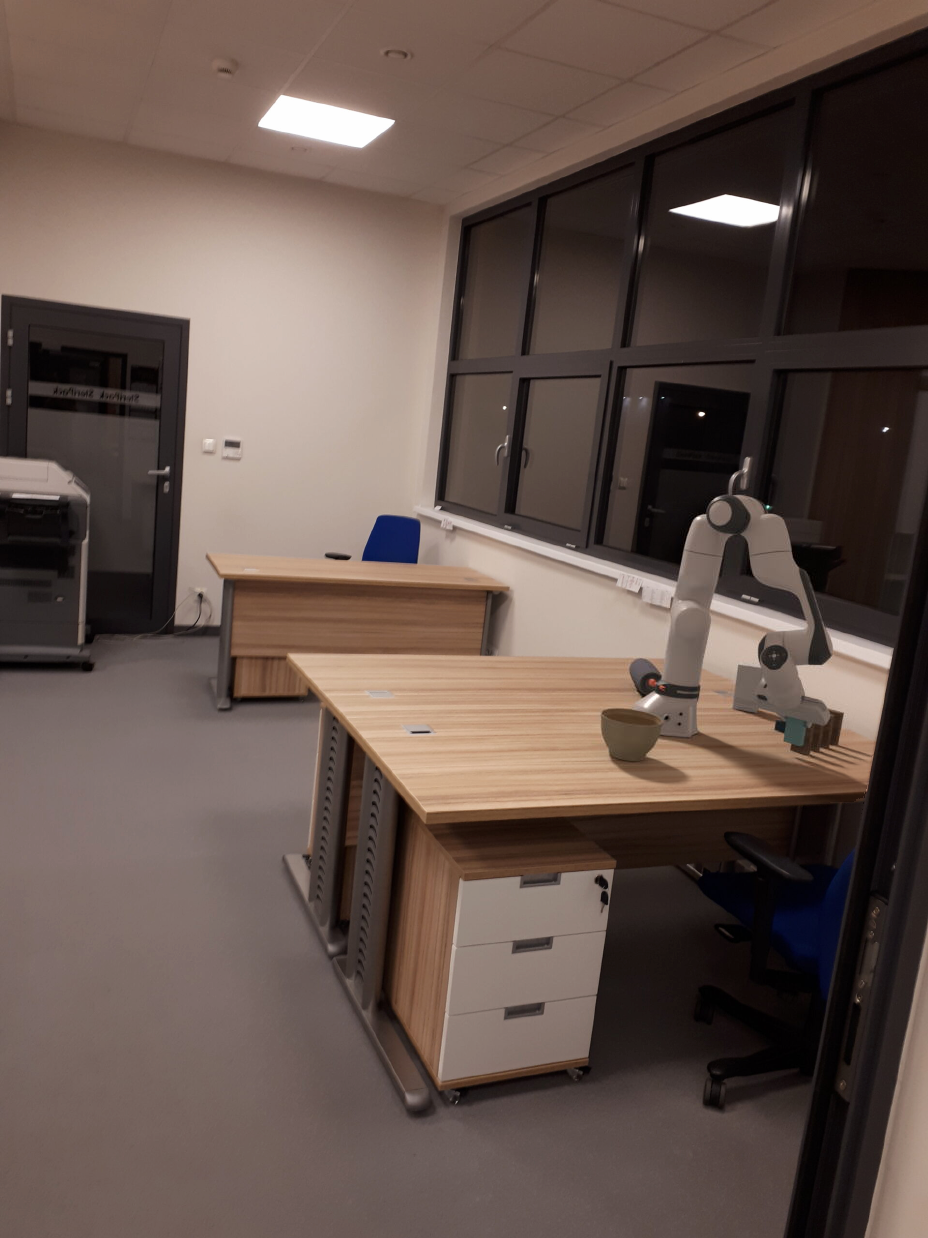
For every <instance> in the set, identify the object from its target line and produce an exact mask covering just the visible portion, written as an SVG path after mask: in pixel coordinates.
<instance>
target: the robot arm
mask: <svg viewBox="0 0 928 1238" xmlns="http://www.w3.org/2000/svg"><path fill="white" fill-rule="evenodd" d="M705 512H706V513H705V514H704V513H703V514H701V515H697V516H696V517H695V518H694V519H693V520H692V522H691V525H690V527H689V530H688V533H687V536H686V540H685V543H684V547H683V552H682V558H681V562H680V568H679V574H678V577H677V578H678V579H677V581H676V582H677V583H676V587H675V590H674V594H673V599H672V603H671V608H670V612H669V613H670V614H669V616H670V617H669V618H670V625H669V632H668V637H667V643H666V649H665V653H664V654H665V655H664V659H663V660H664V661H663V667H662V673H661V675H662V678H661V679H660V680H659V681H658V682H657V681H655V680H654V679H650V682H649V685H651V686H652V687H655V689H654V690H655V691H653V692H652V693H650V694H649V695H644V696H643V697H642V698H640V699H638V701H636V702H634V704H633V706H632V708H631V709H633V710H639V711H644V712H648V713H651V714H654V715H656V716H658V717H660V718H661V719H662V720H663V725H662V727H661V732H660V735H659V736H668V737H669V736H670V737H680V738H692V737H693V735H695V734H697V733H698V732H699V731H698V722H697V718H698V717H697V714H698V713H697V710H698V709H697V708H698V701H699V699H700V692H701V684H700V682H701V677H702V676H701V675H702V669H703V663H704V658H705V653H706V649H707V645H708V639H709V636H710V631H711V630H710V629H711V625H712V623H711V622H712V619H711V618H712V617H711V614H710V611H711V605H712V603H713V598H714V594H715V592H716V587H717V584H718V580H719V576H720V570H721V565H722V561H723V556H724V551H725V545H726V542H727V541H728V539H729V538H731V537H732V536H733V537H741V536H742V537H744V539H745V540H746V542H747V544H748V554H749V561H750V569H751V573H752V575H753V576H754V578H755V579H756V581H758V582H760V583H761V584H763V585H765V586H768V587H771V588H775V589H779V590H784V591H787V592H790V593H793V594H794V595H795V596H796V597H797V598H798V599H799V602H800V605H801V608H802V611H803V615H804V618H805V621H806V625H807V627H805V628H803V629H794V630H781V631H780V630H779V631H772V632H767V633H766V634H765V635H764V636H763V637H762V638H761V640H760V641H759V643H758V647H757V658H758V659H757V660H758V664H760V666H761V670H762V674H763V678H762V679H761V681H760V682H759V684H758V685H757V687H756V689H755V691H754V696H755V702H756V705H757V706H758V707H759V710H763V711H768V712H771V713H775V714H776V715H777V716H778V717H779V718H780V717H781V718H782V720H783V721H785V722H786V721H787V716H789V717H793V718H796V719H800V720H804V721H805V722H804V727H807V728H810V727H811V725H812V723H815V724H819V725H822V726H824V725H826V724H827V722H828V721H829V719H830V712H829V710H828V709H829V708H828V706H827V705H826V703H825V702H824V701H823V700H821V699H819V698H815V697H811V696H807V695H806V692H805V688H804V687H803V686H804V685H803V683H802V679H801V678H800V677H799V671H798V669H797V668H798V667H799V666H823V665H824V664H826V663H827V662H828V661H829V660H830V659H831V657H832V656H833V650H834V648H833V647H834V646H833V645H834V644H833V642H832V638H831V636H830V634H829V632H828V630H827V627H826V624H825V622H824V621H825V620H824V619H823V615H822V612H821V608H820V605H819V603H818V599H817V597H816V593H815V590H814V587H813V584H812V582H811V579H810V576H809V575H808V573H807V571H806V570H804V569H803V568H801V567H799V566H798V565H797V564H796V563H797V562H795V559H794V558H793V557H794V556H793V552H792V545H791V540H790V535H789V531H788V528H787V525H786V523H785V520H784V519H783V517H781V516H780V515H778V514H774V513H769V511H768V508H767V506H766V504H764V503H763V502H762V501H761V500H760V499H758V498H756V497H752V496H747V495H743V494H736V495H735V494H734V495H733V494H723V495H719V496H716V497H715V498H713V500H711V501H710V503H709V504H708V505H707V508H706V511H705ZM797 666H798V667H797Z"/></svg>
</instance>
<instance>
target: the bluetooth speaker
mask: <svg viewBox="0 0 928 1238" xmlns="http://www.w3.org/2000/svg"><path fill="white" fill-rule="evenodd" d="M628 669H629V670H628V671H629V677H630V679H631V680H632V683H633V684H634V685H635V687H636V688H637V690H638V691H639V693H640V694H641V695H644V696H647V695H649V694H650V693H652V692H653V691H655V690H654V689H655V687H652V686H651V685H649V682H650V679H654V680H655V681H657V682H658V681H659V680H660V679H661V678H662V673H661V672H660V671H659V670H658V668H657V667H656V666H655V665H654V664H653V663H652V662H651V661H650V660H648V659H646V658H642V657H641V658H635V660H633V661H632V662H631V663H630V666H629V668H628Z"/></svg>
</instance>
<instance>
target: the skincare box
mask: <svg viewBox="0 0 928 1238" xmlns="http://www.w3.org/2000/svg"><path fill="white" fill-rule="evenodd" d="M736 671H737V672H736V677H735V678H736V679H735V685H734V693H733V702H732V708H731V709H732V710H737V711H742V712H743V711H744V712H749V713H755V714H757V713H758V711H759V710H760V708H759V707H758V706H757V705H756V702H755V696H754V691H755V689H756V687H757V685H758V684H759V682H760V681H761V679H762V678H763V674H762V670H761V666H760V663H755V662H753V663H752V662H747V661H740V662H738V664H737V670H736Z"/></svg>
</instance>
